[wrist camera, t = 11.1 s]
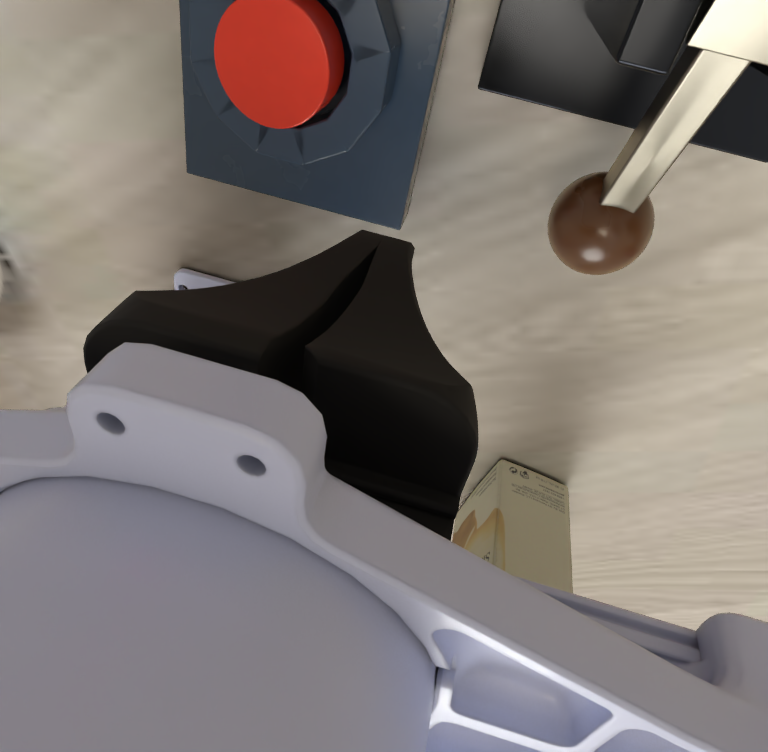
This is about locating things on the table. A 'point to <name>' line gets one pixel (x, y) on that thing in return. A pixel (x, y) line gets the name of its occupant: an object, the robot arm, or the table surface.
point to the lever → (657, 141)
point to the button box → (325, 112)
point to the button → (279, 59)
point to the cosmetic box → (519, 525)
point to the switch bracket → (615, 65)
